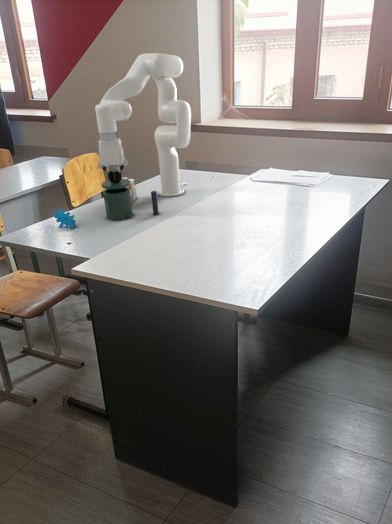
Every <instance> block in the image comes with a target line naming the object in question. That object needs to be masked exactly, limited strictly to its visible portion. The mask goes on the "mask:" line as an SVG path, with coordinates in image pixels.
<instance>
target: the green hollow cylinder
mask: <svg viewBox="0 0 392 524" xmlns="http://www.w3.org/2000/svg"><path fill="white" fill-rule="evenodd" d="M102 195H103V201H104V208H105V215H106V218H107V220H109V221H114V222H116V221H118V222H119V221H126V220H128V219H131V218H133V217H134V213H133V212H134V211H133V205H132V203H131V197H130V189H129V188H127V187H124V188H120V189H104V190H103V191H102Z"/></svg>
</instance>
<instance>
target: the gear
mask: <svg viewBox="0 0 392 524" xmlns="http://www.w3.org/2000/svg"><path fill="white" fill-rule="evenodd" d="M65 212H66V210H65V209H59V208H58V209H57V210H55V211H54V212H53V214H54V215H53V218H54V219H56V220H55V221H56V223H57V224H58V223H59V225H58V227H59V228H62V227H64V226H65V227H64V228H65V229H72V230H73V229H74V227H76V226H77V224H76V223H77V220H76V219H75V217H76V215H75V214H72V215H71V212H70V211H67V212H66V213H65Z"/></svg>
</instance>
